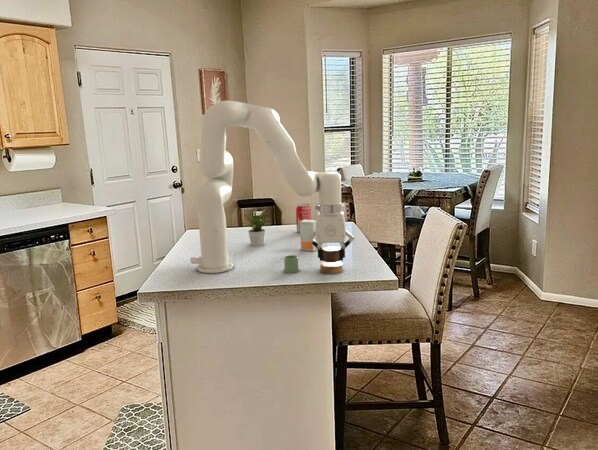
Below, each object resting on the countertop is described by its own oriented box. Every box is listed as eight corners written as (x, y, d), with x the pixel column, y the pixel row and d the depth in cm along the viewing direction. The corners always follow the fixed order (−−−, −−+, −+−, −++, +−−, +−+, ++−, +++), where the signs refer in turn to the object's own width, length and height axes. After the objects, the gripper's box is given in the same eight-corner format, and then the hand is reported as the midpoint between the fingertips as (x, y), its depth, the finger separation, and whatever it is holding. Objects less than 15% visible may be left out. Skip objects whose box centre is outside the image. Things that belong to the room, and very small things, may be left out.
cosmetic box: (300, 250, 207) (299, 221, 205) (305, 247, 211) (304, 219, 209) (313, 251, 204) (313, 222, 202) (318, 249, 208) (317, 220, 206)
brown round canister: (321, 262, 174) (321, 251, 173) (322, 257, 180) (322, 246, 179) (340, 262, 173) (340, 250, 172) (341, 257, 180) (341, 246, 179)
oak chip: (319, 274, 174) (319, 267, 174) (321, 267, 182) (321, 261, 181) (342, 274, 173) (342, 267, 173) (342, 267, 181) (342, 260, 180)
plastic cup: (283, 272, 177) (283, 259, 176) (285, 268, 182) (285, 255, 181) (297, 272, 176) (297, 258, 175) (298, 268, 181) (298, 255, 180)
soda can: (314, 230, 242) (313, 203, 240) (306, 233, 237) (305, 206, 234) (301, 229, 246) (301, 203, 244) (293, 232, 240) (292, 205, 238)
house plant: (241, 250, 209) (238, 211, 206) (235, 243, 222) (233, 206, 219) (274, 247, 213) (273, 208, 210) (267, 240, 226) (265, 203, 223)
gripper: (304, 211, 170) (305, 262, 174) (356, 210, 169) (356, 262, 172) (305, 207, 178) (307, 257, 181) (356, 206, 176) (356, 256, 179)
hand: (331, 259), depth 177 cm, fingers closed on brown round canister, 6 cm apart
